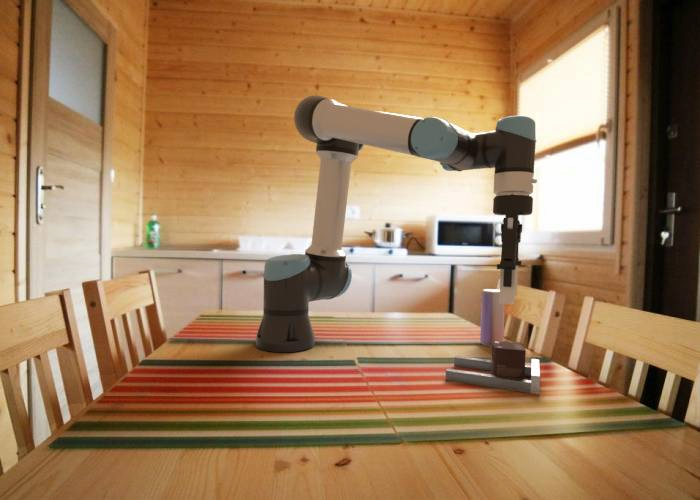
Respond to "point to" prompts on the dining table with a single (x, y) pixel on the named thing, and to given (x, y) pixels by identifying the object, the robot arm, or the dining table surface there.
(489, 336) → the beverage can
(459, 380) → the channel
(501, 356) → the box
